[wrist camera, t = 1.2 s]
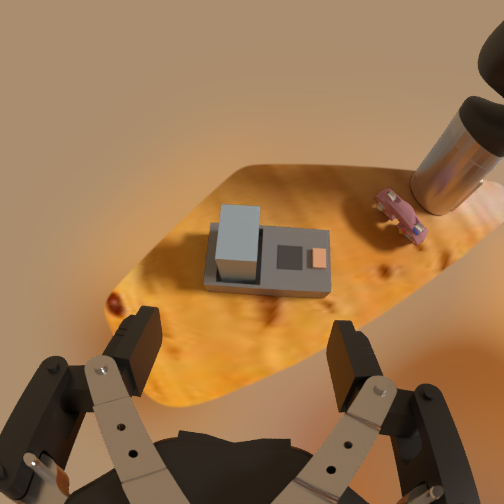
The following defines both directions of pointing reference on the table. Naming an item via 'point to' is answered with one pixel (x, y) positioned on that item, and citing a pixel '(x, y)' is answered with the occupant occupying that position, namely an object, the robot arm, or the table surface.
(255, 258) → the block
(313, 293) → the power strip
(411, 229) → the pink curved toy
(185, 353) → the table surface
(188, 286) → the table surface
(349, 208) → the table surface
